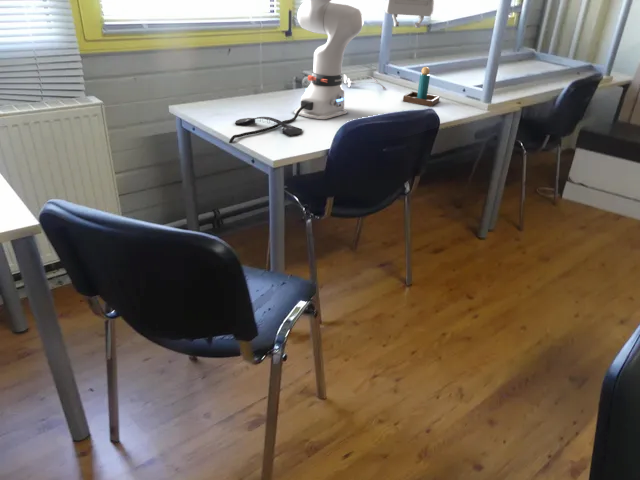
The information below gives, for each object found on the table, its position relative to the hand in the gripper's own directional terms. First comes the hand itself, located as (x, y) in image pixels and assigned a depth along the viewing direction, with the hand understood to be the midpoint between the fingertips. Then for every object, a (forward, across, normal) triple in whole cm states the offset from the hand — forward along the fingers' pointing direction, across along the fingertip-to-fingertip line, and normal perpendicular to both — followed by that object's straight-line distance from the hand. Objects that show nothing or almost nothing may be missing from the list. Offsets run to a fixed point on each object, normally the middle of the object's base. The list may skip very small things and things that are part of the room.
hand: (406, 27), depth 223 cm
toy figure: (+30, +14, +5) cm, 34 cm away
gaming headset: (+31, -62, -32) cm, 77 cm away
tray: (+31, +13, +5) cm, 34 cm away
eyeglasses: (+31, -4, +34) cm, 46 cm away
